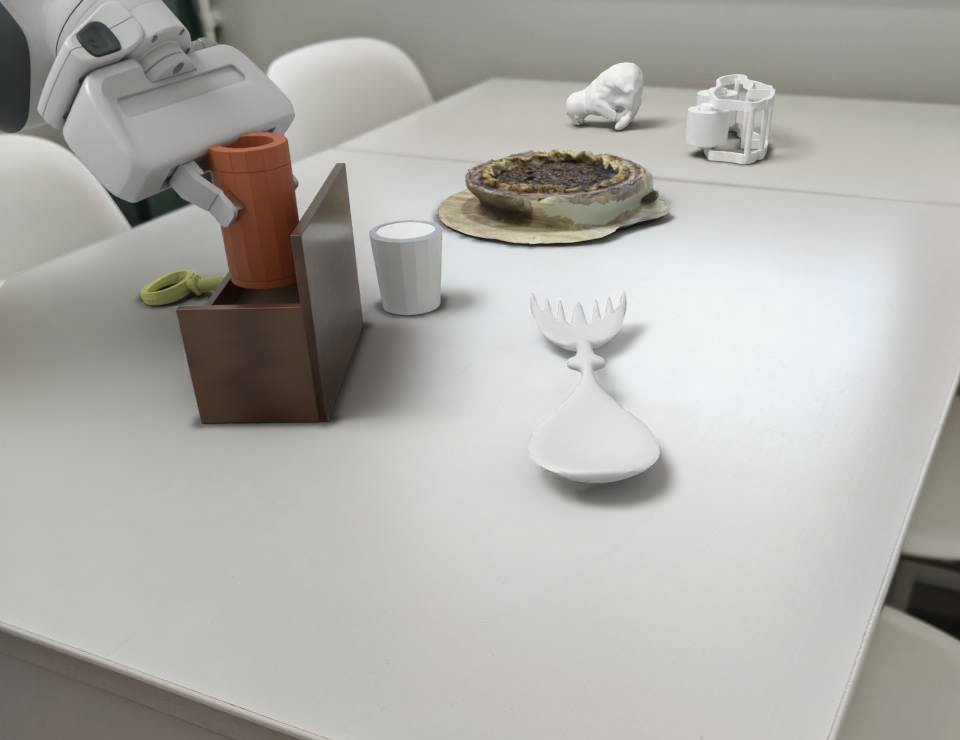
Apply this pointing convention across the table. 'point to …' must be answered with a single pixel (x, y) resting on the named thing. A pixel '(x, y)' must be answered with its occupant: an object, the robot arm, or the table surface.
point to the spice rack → (282, 327)
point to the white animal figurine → (609, 96)
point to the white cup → (408, 265)
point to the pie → (552, 197)
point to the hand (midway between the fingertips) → (264, 205)
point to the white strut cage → (731, 119)
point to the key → (177, 287)
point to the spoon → (589, 406)
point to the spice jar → (258, 209)
